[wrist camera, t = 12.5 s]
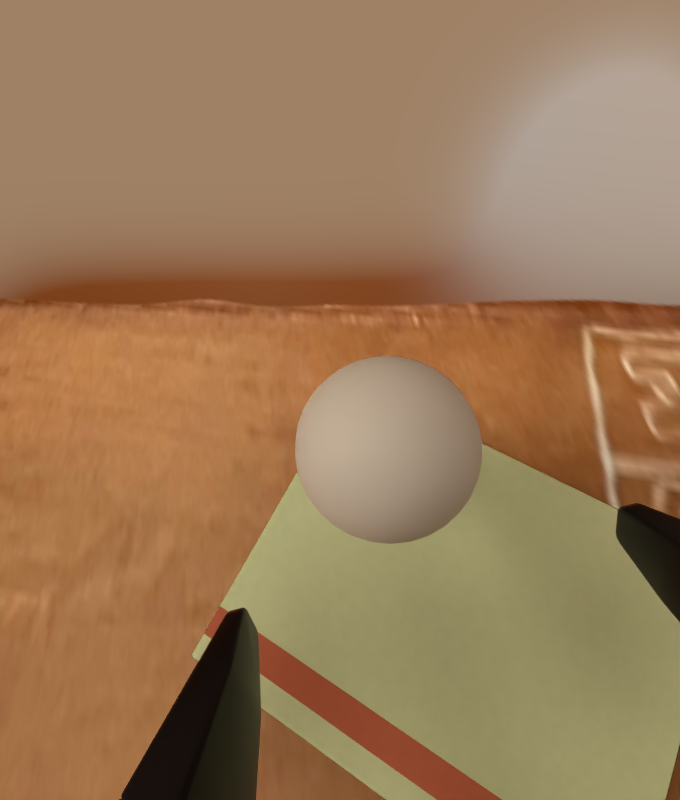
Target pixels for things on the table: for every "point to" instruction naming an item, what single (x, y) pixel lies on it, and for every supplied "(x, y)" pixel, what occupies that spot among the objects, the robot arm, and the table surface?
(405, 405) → the lightbulb
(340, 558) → the cloth
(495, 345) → the table surface
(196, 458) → the table surface
